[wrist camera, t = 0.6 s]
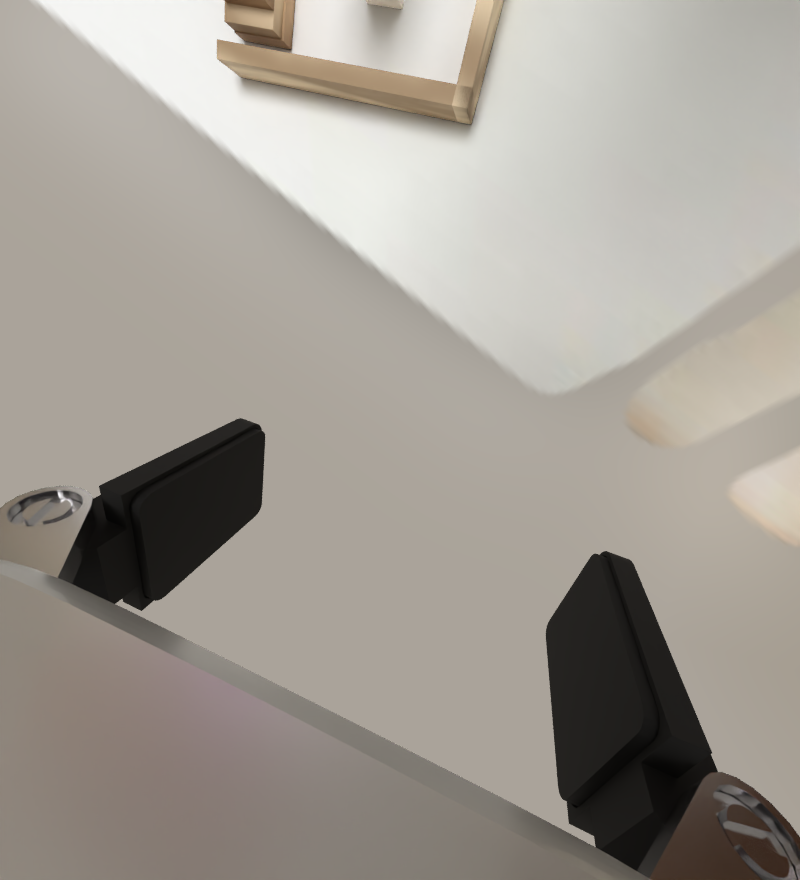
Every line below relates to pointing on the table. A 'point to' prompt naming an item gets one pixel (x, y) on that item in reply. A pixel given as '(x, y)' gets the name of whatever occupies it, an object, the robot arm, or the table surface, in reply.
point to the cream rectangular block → (387, 3)
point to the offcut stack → (262, 21)
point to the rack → (377, 74)
